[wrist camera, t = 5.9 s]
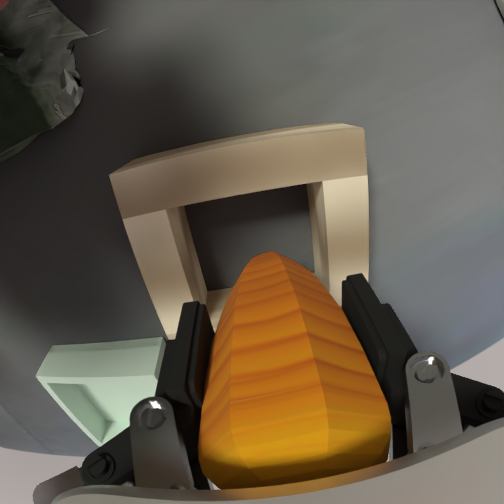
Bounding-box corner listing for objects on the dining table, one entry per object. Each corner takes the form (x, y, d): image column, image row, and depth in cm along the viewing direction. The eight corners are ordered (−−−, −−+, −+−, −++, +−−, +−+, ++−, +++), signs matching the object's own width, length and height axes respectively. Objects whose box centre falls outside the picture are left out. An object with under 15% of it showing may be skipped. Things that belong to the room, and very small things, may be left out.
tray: (52, 345, 23) (35, 375, 19) (162, 336, 23) (154, 375, 19) (106, 418, 28) (99, 446, 25) (203, 416, 28) (201, 449, 24)
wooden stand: (133, 159, 17) (108, 174, 13) (336, 122, 16) (363, 128, 13) (184, 321, 22) (178, 360, 19) (346, 293, 22) (365, 328, 18)
